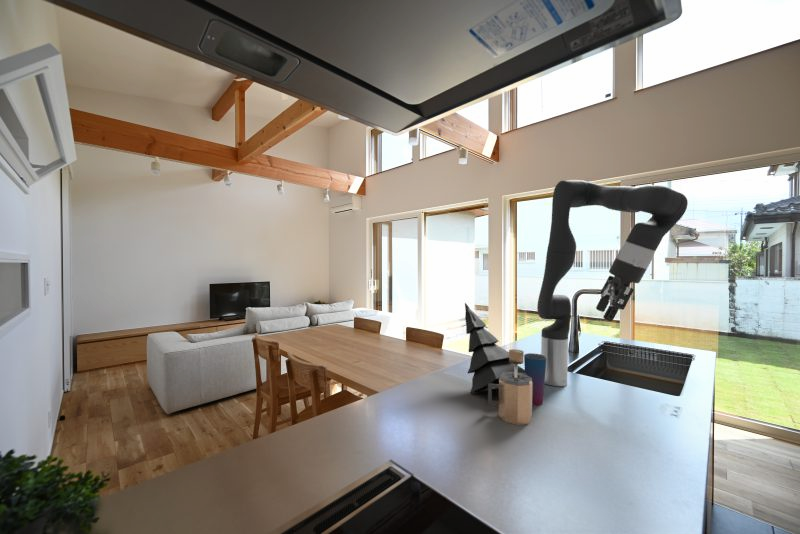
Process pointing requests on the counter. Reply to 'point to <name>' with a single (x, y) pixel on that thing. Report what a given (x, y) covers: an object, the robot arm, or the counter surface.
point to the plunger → (516, 359)
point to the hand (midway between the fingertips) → (603, 315)
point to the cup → (536, 375)
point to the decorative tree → (485, 355)
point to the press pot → (513, 398)
